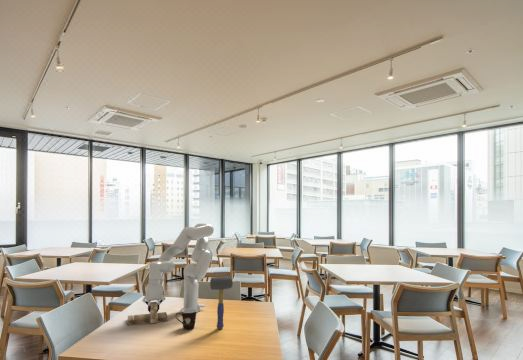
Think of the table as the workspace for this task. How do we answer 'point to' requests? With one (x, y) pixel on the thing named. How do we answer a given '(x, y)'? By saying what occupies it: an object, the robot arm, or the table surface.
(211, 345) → the table surface
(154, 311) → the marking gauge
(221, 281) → the rubber mallet
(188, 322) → the coffee mug
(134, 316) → the walnut board
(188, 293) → the robot arm
